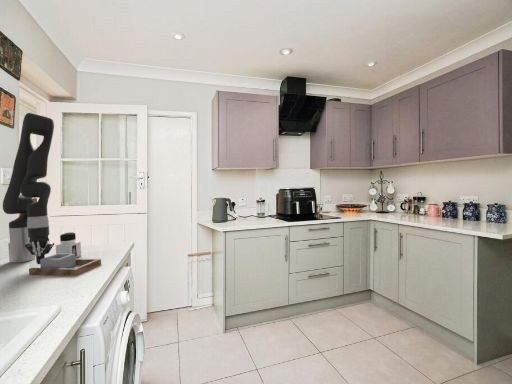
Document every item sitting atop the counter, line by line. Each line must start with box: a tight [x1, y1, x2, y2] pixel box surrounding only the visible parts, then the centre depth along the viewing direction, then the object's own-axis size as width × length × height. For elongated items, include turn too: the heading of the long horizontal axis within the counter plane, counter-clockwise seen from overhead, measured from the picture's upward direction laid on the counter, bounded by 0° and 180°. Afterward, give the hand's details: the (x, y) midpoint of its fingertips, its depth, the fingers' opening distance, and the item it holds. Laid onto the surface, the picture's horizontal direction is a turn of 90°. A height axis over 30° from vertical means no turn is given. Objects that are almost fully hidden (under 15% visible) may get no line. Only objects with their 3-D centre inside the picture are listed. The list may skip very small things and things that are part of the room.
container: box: [55, 231, 82, 259], centre depth 138 cm, size 8×8×13 cm
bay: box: [28, 258, 102, 276], centre depth 120 cm, size 22×15×2 cm
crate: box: [39, 253, 77, 268], centre depth 120 cm, size 9×9×6 cm
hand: (40, 263), depth 122 cm, fingers closed
